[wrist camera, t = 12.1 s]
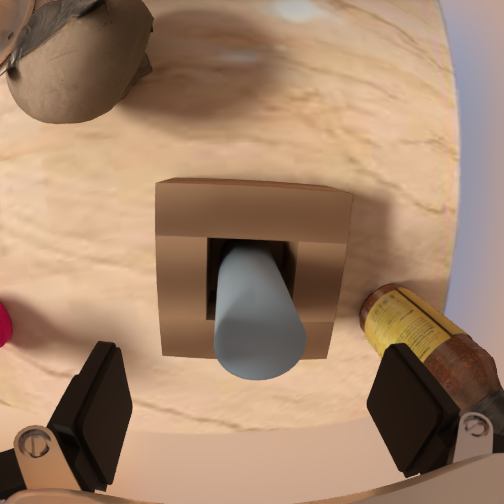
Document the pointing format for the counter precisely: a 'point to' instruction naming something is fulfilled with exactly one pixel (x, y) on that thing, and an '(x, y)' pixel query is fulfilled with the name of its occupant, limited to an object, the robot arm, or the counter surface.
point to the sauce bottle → (436, 349)
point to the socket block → (246, 227)
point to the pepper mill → (4, 326)
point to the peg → (255, 314)
